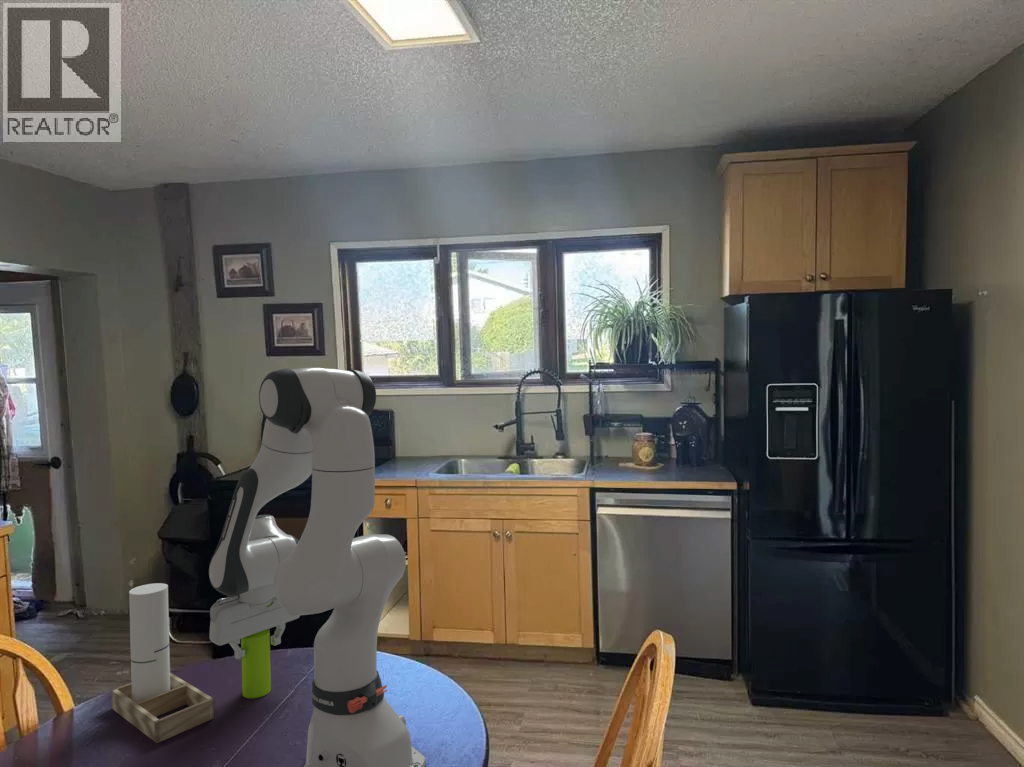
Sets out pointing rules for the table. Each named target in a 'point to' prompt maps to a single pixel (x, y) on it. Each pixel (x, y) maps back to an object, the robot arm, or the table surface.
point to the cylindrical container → (149, 641)
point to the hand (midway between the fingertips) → (258, 650)
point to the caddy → (164, 709)
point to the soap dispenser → (256, 664)
